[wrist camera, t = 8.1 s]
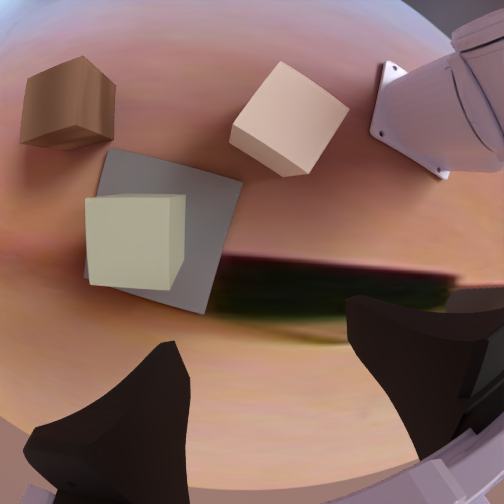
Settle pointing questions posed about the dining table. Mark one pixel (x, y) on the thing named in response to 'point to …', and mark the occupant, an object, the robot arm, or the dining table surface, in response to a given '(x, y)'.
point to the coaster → (196, 219)
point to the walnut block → (68, 107)
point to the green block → (135, 239)
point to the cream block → (287, 122)
